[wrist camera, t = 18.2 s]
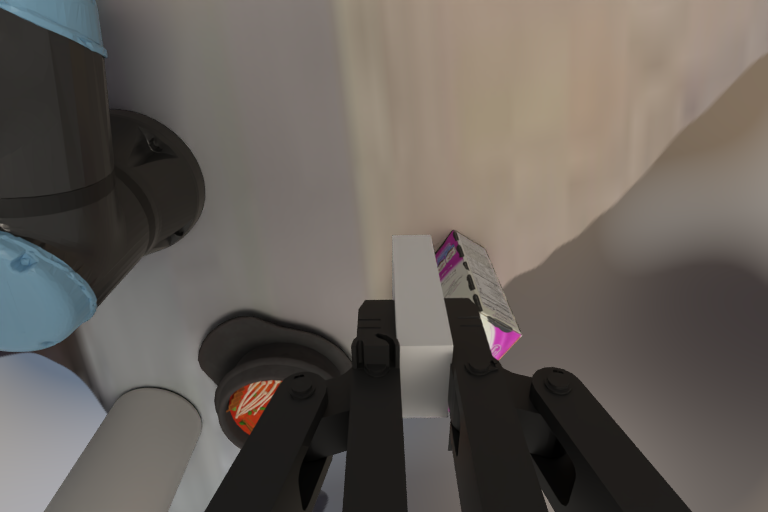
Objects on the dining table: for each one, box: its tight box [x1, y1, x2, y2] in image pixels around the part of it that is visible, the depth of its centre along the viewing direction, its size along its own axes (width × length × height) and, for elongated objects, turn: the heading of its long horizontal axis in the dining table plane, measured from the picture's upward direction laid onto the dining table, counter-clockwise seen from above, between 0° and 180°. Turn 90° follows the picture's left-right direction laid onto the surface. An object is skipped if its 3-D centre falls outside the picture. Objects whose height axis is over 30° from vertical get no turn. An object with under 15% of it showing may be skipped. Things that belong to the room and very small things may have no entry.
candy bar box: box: [435, 230, 522, 411], centre depth 50 cm, size 11×5×16 cm, turn 149°
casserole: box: [198, 316, 352, 449], centre depth 61 cm, size 25×19×8 cm
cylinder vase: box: [44, 388, 202, 512], centre depth 58 cm, size 12×12×25 cm
